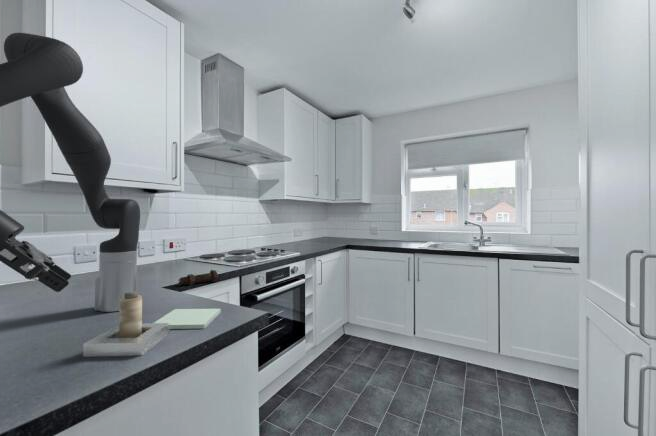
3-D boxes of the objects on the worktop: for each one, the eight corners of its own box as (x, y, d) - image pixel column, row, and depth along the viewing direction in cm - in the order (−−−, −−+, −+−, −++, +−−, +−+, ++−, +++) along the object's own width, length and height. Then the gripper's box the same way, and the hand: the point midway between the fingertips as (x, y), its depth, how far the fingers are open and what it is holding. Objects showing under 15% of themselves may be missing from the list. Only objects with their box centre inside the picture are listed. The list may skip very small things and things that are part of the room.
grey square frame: (83, 356, 55) (83, 343, 55) (120, 334, 66) (120, 323, 66) (141, 355, 56) (142, 342, 56) (169, 333, 67) (169, 323, 67)
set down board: (149, 329, 69) (150, 325, 69) (174, 312, 82) (175, 309, 82) (204, 328, 70) (204, 324, 70) (220, 312, 83) (220, 308, 83)
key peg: (114, 348, 59) (115, 295, 59) (126, 340, 63) (127, 290, 63) (134, 348, 59) (135, 295, 59) (145, 340, 63) (146, 290, 63)
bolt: (178, 290, 117) (214, 284, 128) (182, 286, 114) (218, 279, 124) (176, 277, 119) (211, 272, 130) (179, 272, 116) (215, 267, 126)
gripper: (-13, 207, 44) (84, 273, 51) (7, 209, 55) (84, 264, 62) (-72, 243, 40) (41, 309, 47) (-38, 238, 51) (50, 292, 58)
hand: (65, 283), depth 55 cm, fingers open, 8 cm apart
